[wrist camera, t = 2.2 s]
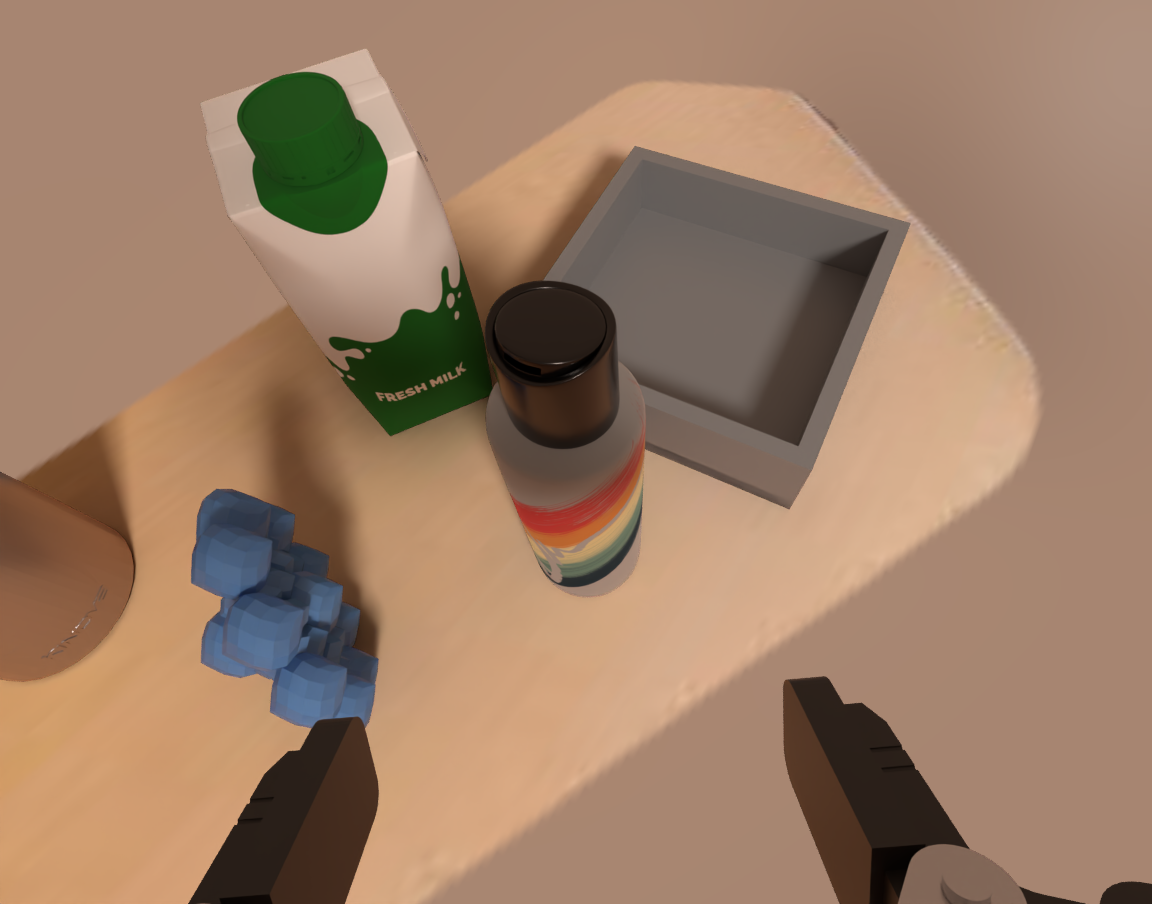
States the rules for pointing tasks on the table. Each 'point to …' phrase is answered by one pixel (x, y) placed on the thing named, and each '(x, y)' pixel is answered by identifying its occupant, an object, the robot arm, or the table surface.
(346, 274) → the milk carton
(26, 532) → the robot arm
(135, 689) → the table surface
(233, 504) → the grapes
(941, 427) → the table surface
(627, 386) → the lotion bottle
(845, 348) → the bin
